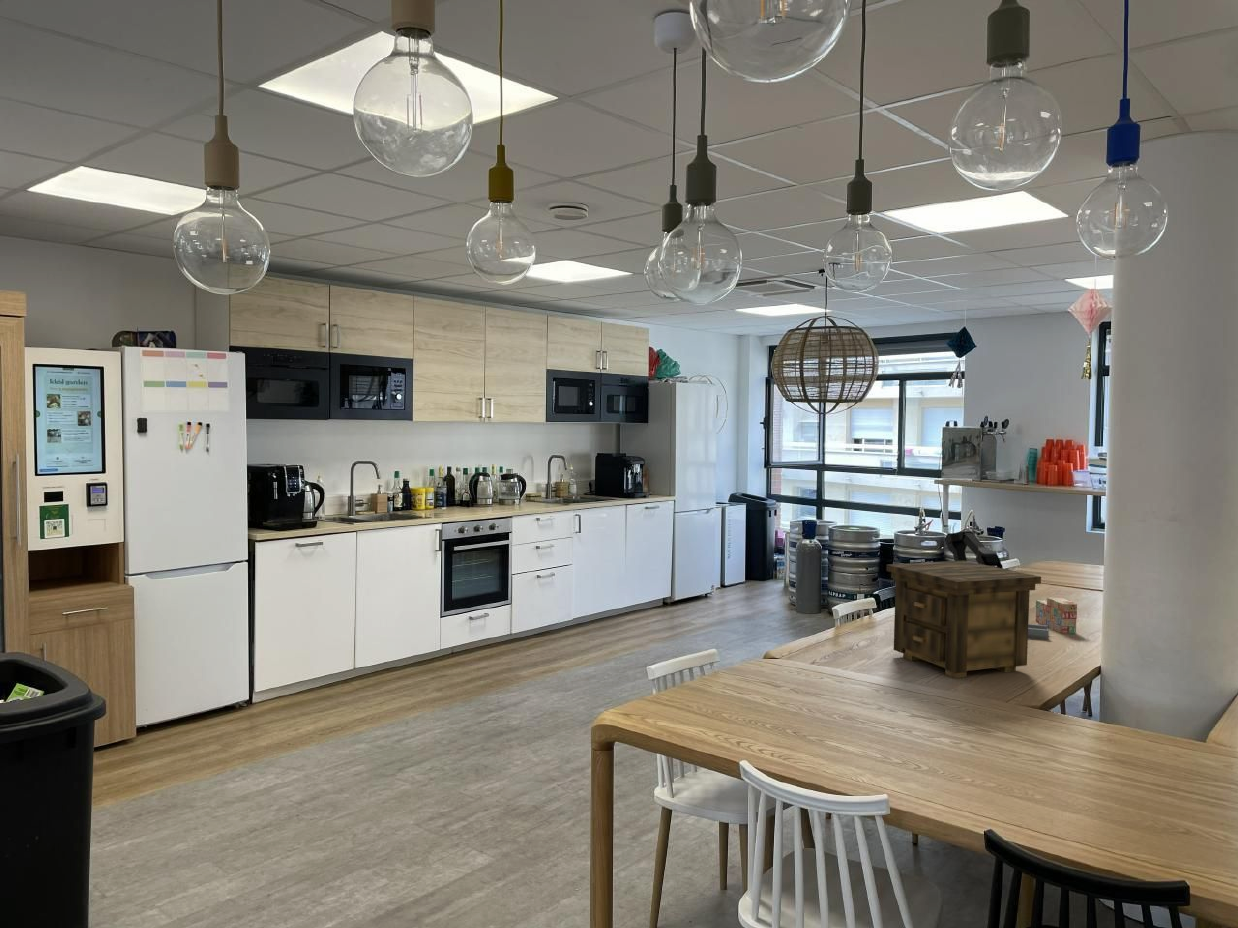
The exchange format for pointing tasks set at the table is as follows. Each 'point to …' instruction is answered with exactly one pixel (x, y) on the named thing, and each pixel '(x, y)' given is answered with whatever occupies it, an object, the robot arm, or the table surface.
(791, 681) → the table surface
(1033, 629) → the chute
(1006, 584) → the wooden nightstand
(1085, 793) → the table surface
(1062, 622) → the stack of blocks
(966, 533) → the robot arm
